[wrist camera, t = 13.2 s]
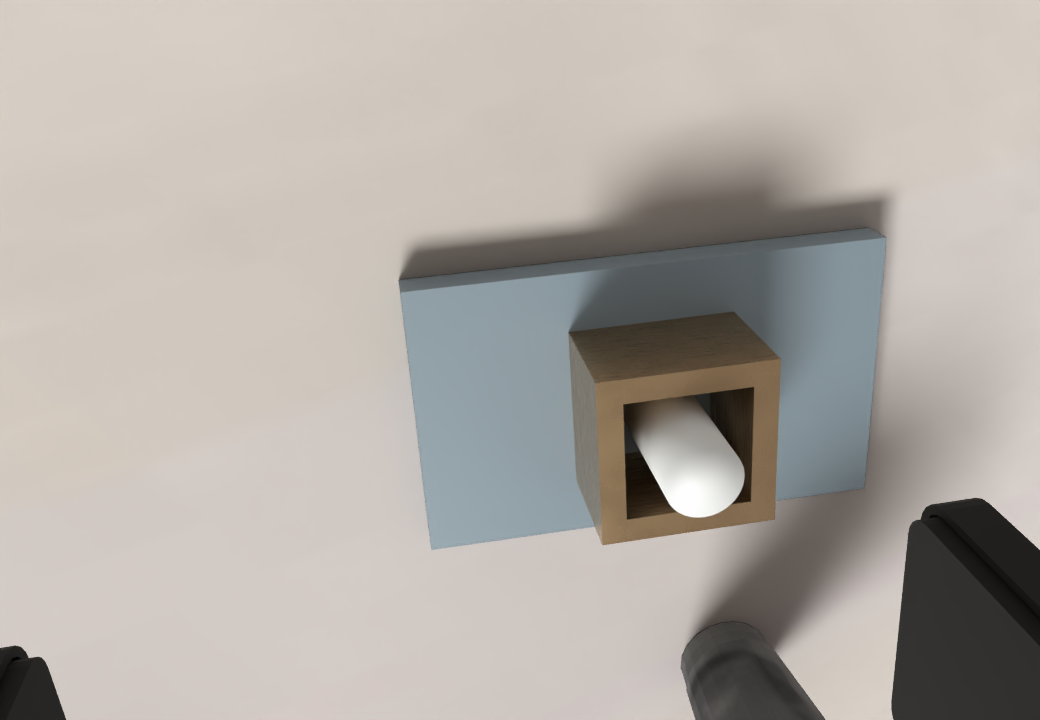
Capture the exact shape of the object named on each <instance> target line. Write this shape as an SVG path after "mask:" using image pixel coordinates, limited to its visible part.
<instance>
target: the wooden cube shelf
mask: <svg viewBox="0 0 1040 720" xmlns="http://www.w3.org/2000/svg"><path fill="white" fill-rule="evenodd" d="M568 337H569V355H570V373H571V391H572V410H573V428H574V446H575V464H576V481H577V483H578V486H579V488H580V491H581V493H582V496H583V498H584V501H585V503H586V506H587V508H588V511H589V513H590V515H591V518H592V520H593V523H594V525H595V528H596V530H597V533H598V535H599V538H600V540H601V543H602V545H607V544H614V543H620V542H627V541H634V540H640V539H647V538H654V537H661V536H667V535H674V534H681V533H687V532H694V531H701V530H707V529H714V528H721V527H727V526H734V525H741V524H747V523H754V522H761V521H767V520H774V519H775V498H776V473H777V448H778V423H779V397H780V372H781V358H780V357H779V356H778V355H777V354H776V353H775V352H774V351H773V350H772V349H771V348H770V347H769V346H768V345H767V344H766V343H765V342H764V341H763V340H762V339H761V338H760V337H759V336H758V335H757V334H756V333H755V332H754V331H753V330H752V329H751V328H750V327H749V326H748V325H747V324H746V323H745V322H744V321H743V320H742V319H741V318H740V317H739V316H738V315H737V314H736V313H735V312H734V311H733V312H725V313H717V314H709V315H701V316H693V317H685V318H677V319H669V320H661V321H653V322H645V323H637V324H629V325H621V326H613V327H605V328H597V329H589V330H581V331H573V332H568ZM704 393H710V419H711V420H712V422H713V423H714V424H715V426H716V427H717V428H718V430H719V431H720V433H721V434H722V435H723V437H724V438H725V439H726V441H727V442H728V444H729V445H730V446H731V448H732V449H733V450H734V452H735V453H736V455H737V456H738V457H739V459H740V460H741V462H742V464H743V467H744V474H745V477H744V484H743V487H742V490H741V492H740V493H739V495H738V497H737V498H736V499H735V501H734V502H733V503H732V504H731V505H729V506H728V507H727V508H726V509H724V510H723V511H721V512H719V513H717V514H714V515H711V516H707V517H700V518H697V517H689V516H685V515H683V514H680V513H679V512H677V511H676V510H675V509H673V508H672V506H671V505H670V504H669V502H668V501H667V499H666V497H665V495H664V493H663V492H662V490H661V488H660V486H659V484H658V482H657V481H656V479H655V477H654V475H653V473H652V472H651V470H650V468H649V466H648V464H647V462H646V461H645V459H644V457H643V455H642V453H641V451H640V452H633V453H626V454H625V446H624V414H623V404H630V403H637V402H645V401H652V400H659V399H667V398H674V397H682V396H689V395H697V394H704Z"/></svg>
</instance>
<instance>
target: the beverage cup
mask: <svg viewBox="0 0 1040 720" xmlns="http://www.w3.org/2000/svg"><path fill="white" fill-rule="evenodd" d="M681 670H682V673H683V676H684V679H685V683H686V686H687V690H686V691H687V694H688V697H689V700H690V703H691V706H692V710H693V713H694V716H695V719H696V720H825V718H824V717H823V716H822V714H821V713H820V711H819V710H818V709H817V707H816V706H815V705H814V703H813V702H812V701H811V699H810V698H809V697H808V695H807V694H806V693H805V691H804V690H803V688H802V687H801V686H800V684H799V683H798V682H797V680H796V679H795V678H794V676H793V675H792V674H791V672H790V671H789V669H788V668H787V667H786V665H785V664H784V663H783V661H782V660H781V659H780V657H779V656H778V655H777V653H776V652H775V651H774V650H773V649H772V647H770V646H769V645H768V644H767V643H766V641H765V640H764V638H763V637H762V635H761V634H760V633H759V632H758V630H757V629H755V628H753V627H751V626H750V625H748V624H745V623H739V622H725V623H719V624H716V625H714V626H711V627H708V628H706V629H705V630H703V631H702V632H700V633H699V634H697V635H696V636H695V637H694V638H693V639H692V640H691V642H690V643H689V644H688V645H687V646H686V649H685V651H684V653H683V655H682V660H681Z"/></svg>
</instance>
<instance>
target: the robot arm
mask: <svg viewBox="0 0 1040 720" xmlns="http://www.w3.org/2000/svg"><path fill="white" fill-rule="evenodd" d="M892 715H893V719H894V720H1040V550H1039V549H1038V548H1037V547H1036V546H1035V545H1034V544H1033V543H1031V542H1030V541H1029V540H1028V539H1027V538H1026V537H1025V536H1024V535H1023V534H1022V533H1021V532H1020V531H1018V530H1017V529H1016V528H1015V527H1014V526H1013V525H1012V524H1011V523H1010V522H1009V521H1008V520H1007V519H1005V518H1004V517H1003V516H1002V515H1001V514H1000V513H999V512H998V511H997V510H996V509H995V508H993V507H992V506H991V505H990V504H989V503H988V502H986V501H985V500H983V499H980V498H972V499H965V500H959V501H952V502H946V503H939V504H933V505H930V506H928V507H926V508H925V510H924V511H923V513H922V517H921V520H916V521H914V522H912V524H911V526H910V528H909V533H908V543H907V553H906V562H905V572H904V582H903V592H902V602H901V612H900V622H899V632H898V642H897V652H896V662H895V672H894V682H893V692H892ZM0 720H66V718H65V715H64V712H63V709H62V707H61V704H60V701H59V698H58V695H57V692H56V689H55V686H54V683H53V681H52V678H51V675H50V672H49V669H48V667H47V665H46V662H45V661H44V660H43V659H42V658H41V657H34V658H28V656H27V653H26V652H25V651H24V650H23V649H22V648H21V647H19V646H10V647H4V648H0Z"/></svg>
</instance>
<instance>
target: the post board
mask: <svg viewBox="0 0 1040 720" xmlns="http://www.w3.org/2000/svg"><path fill="white" fill-rule="evenodd" d="M885 249H886V237H884V236H883V235H881V234H879V233H878V232H876V231H874V230H872V229H871V228H862V229H853V230H844V231H835V232H826V233H817V234H808V235H799V236H790V237H781V238H772V239H763V240H754V241H745V242H736V243H727V244H719V245H710V246H701V247H692V248H683V249H674V250H665V251H656V252H647V253H638V254H629V255H620V256H611V257H602V258H593V259H584V260H575V261H566V262H557V263H548V264H539V265H530V266H521V267H512V268H503V269H494V270H485V271H476V272H467V273H458V274H449V275H440V276H431V277H422V278H413V279H404V280H399V287H400V295H401V303H402V312H403V320H404V328H405V336H406V345H407V353H408V361H409V369H410V378H411V386H412V394H413V402H414V411H415V419H416V427H417V436H418V444H419V452H420V460H421V469H422V477H423V485H424V493H425V502H426V510H427V518H428V527H429V535H430V543H431V550H434V549H441V548H448V547H455V546H463V545H470V544H477V543H484V542H491V541H498V540H505V539H512V538H519V537H526V536H533V535H540V534H547V533H554V532H561V531H568V530H575V529H582V528H589V527H595V525H594V523H593V520H592V518H591V515H590V513H589V511H588V508H587V506H586V503H585V501H584V498H583V496H582V493H581V491H580V488H579V486H578V483H577V481H576V464H575V446H574V428H573V410H572V391H571V373H570V355H569V337H568V332H573V331H581V330H589V329H597V328H605V327H613V326H621V325H629V324H637V323H645V322H653V321H661V320H669V319H677V318H685V317H693V316H701V315H709V314H717V313H725V312H733V311H734V312H735V313H736V314H737V315H738V316H739V317H740V318H741V319H742V320H743V321H744V322H745V323H746V324H747V325H748V326H749V327H750V328H751V329H752V330H753V331H754V332H755V333H756V334H757V335H758V336H759V337H760V338H761V339H762V340H763V341H764V342H765V343H766V344H767V345H768V346H769V347H770V348H771V349H772V350H773V351H774V352H775V353H776V354H777V355H778V356H779V357H780V358H781V372H780V397H779V423H778V448H777V473H776V498H775V501H778V500H785V499H792V498H799V497H806V496H813V495H820V494H827V493H834V492H841V491H848V490H855V489H862V488H864V486H865V475H866V464H867V452H868V441H869V430H870V419H871V407H872V396H873V385H874V373H875V362H876V351H877V339H878V328H879V317H880V305H881V294H882V283H883V272H884V260H885ZM623 414H624V446H625V454H626V453H633V452H640V451H641V453H642V455H643V457H644V459H645V461H646V462H647V464H648V466H649V468H650V470H651V472H652V473H653V475H654V477H655V479H656V481H657V482H658V484H659V486H660V488H661V490H662V492H663V493H664V495H665V497H666V499H667V501H668V502H669V504H670V505H671V506H672V508H673V509H675V510H676V511H677V512H679V513H680V514H683V515H685V516H689V517H697V518H700V517H707V516H711V515H714V514H717V513H719V512H721V511H723V510H724V509H726V508H727V507H728V506H729V505H731V504H732V503H733V502H734V501H735V499H736V498H737V497H738V495H739V493H740V492H741V490H742V487H743V484H744V477H745V474H744V467H743V464H742V462H741V460H740V459H739V457H738V456H737V455H736V453H735V452H734V450H733V449H732V448H731V446H730V445H729V444H728V442H727V441H726V439H725V438H724V437H723V435H722V434H721V433H720V431H719V430H718V428H717V427H716V426H715V424H714V423H713V422H712V420H711V419H710V393H704V394H697V395H689V396H682V397H674V398H667V399H659V400H652V401H645V402H637V403H630V404H623Z"/></svg>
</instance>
